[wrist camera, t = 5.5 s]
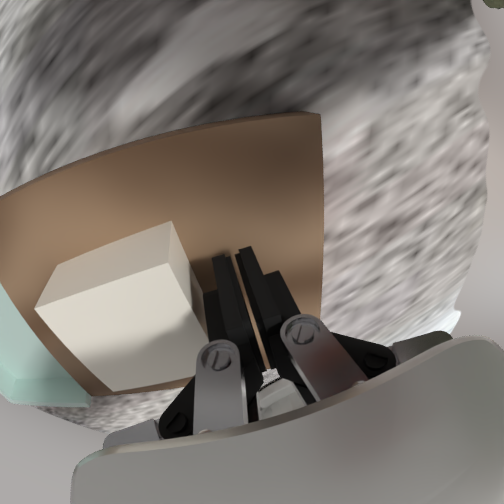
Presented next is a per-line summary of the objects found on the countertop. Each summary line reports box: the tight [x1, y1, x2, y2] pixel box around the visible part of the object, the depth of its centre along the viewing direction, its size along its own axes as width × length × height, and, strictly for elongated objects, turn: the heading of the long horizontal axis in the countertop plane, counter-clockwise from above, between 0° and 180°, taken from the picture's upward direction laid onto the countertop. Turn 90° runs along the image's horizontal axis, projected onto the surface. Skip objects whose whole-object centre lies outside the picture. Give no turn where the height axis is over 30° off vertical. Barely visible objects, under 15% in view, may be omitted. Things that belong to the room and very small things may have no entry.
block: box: [34, 221, 209, 392], centre depth 11 cm, size 6×6×3 cm
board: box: [0, 111, 324, 396], centre depth 13 cm, size 15×17×2 cm
